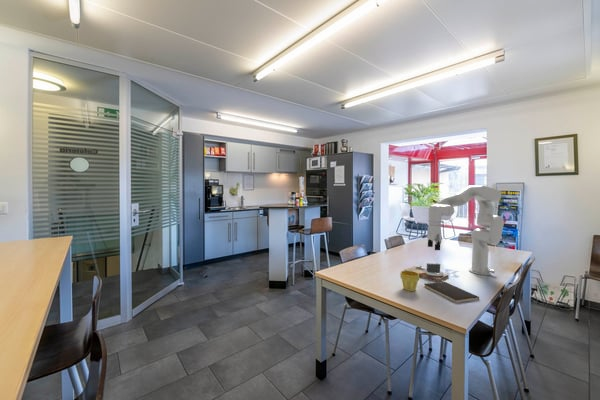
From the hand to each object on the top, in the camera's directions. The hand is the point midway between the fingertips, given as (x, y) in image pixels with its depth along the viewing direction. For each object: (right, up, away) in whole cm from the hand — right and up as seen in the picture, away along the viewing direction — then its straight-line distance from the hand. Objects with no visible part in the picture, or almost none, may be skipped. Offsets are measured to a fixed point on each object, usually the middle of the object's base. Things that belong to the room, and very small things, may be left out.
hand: (433, 248), depth 171 cm
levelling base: (-3, -20, +5) cm, 20 cm away
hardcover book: (-4, -22, -25) cm, 33 cm away
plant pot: (-25, -21, -20) cm, 38 cm away
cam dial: (-1, -17, +1) cm, 18 cm away
